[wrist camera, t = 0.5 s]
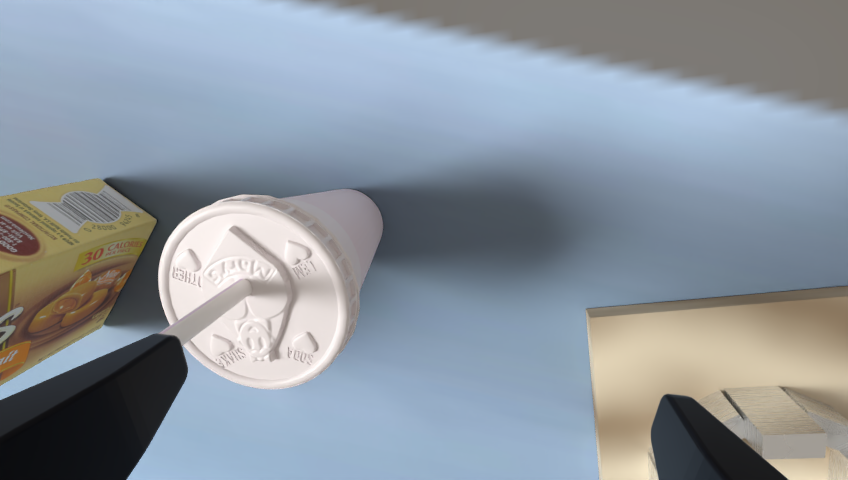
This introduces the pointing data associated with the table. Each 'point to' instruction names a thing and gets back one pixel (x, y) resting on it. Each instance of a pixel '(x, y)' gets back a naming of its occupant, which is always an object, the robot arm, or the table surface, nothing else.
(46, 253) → the candy box
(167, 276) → the smoothie
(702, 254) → the table surface
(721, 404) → the white crenellated ring
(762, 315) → the cap plate
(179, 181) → the table surface
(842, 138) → the table surface
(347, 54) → the table surface
